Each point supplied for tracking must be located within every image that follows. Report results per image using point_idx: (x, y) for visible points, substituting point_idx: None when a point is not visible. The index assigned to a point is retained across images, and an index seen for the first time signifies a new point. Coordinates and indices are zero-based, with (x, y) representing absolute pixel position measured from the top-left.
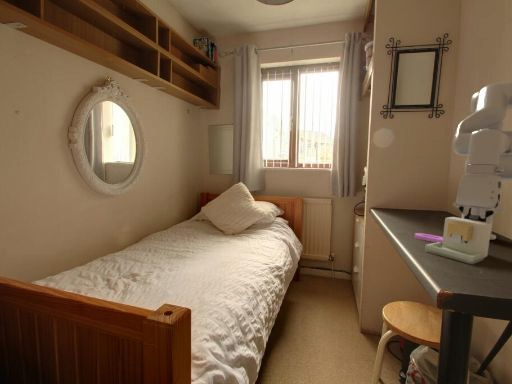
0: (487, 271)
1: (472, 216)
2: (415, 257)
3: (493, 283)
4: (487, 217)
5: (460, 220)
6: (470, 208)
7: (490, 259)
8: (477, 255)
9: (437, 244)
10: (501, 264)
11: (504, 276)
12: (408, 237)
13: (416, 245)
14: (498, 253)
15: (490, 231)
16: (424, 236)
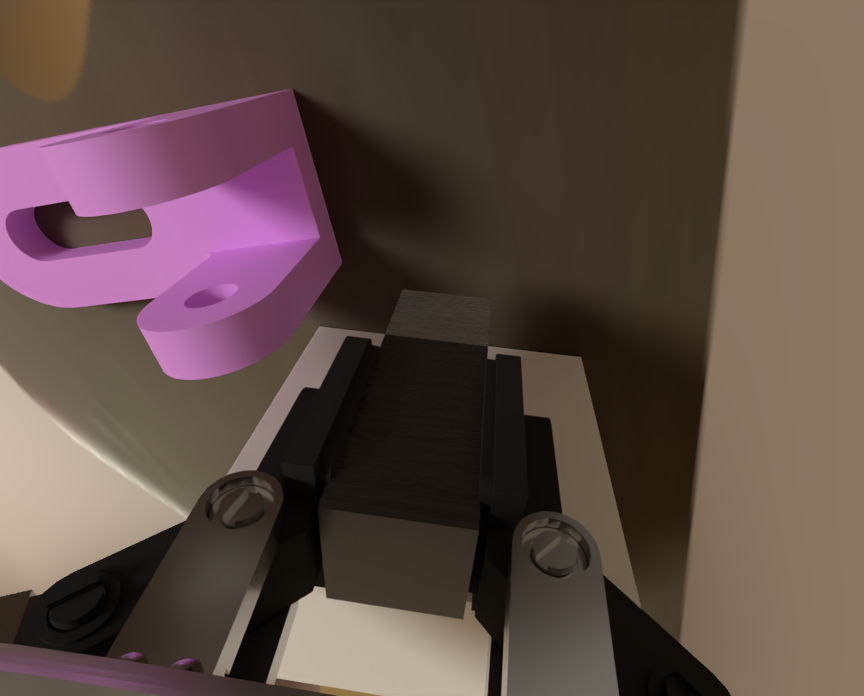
0: None
1: (378, 588)
2: None
3: None
4: (581, 552)
5: (363, 691)
6: (218, 645)
7: (606, 415)
8: None
9: None
10: (667, 467)
11: (672, 615)
12: (25, 315)
13: (220, 472)
14: (653, 147)
15: (620, 528)
16: (83, 290)
